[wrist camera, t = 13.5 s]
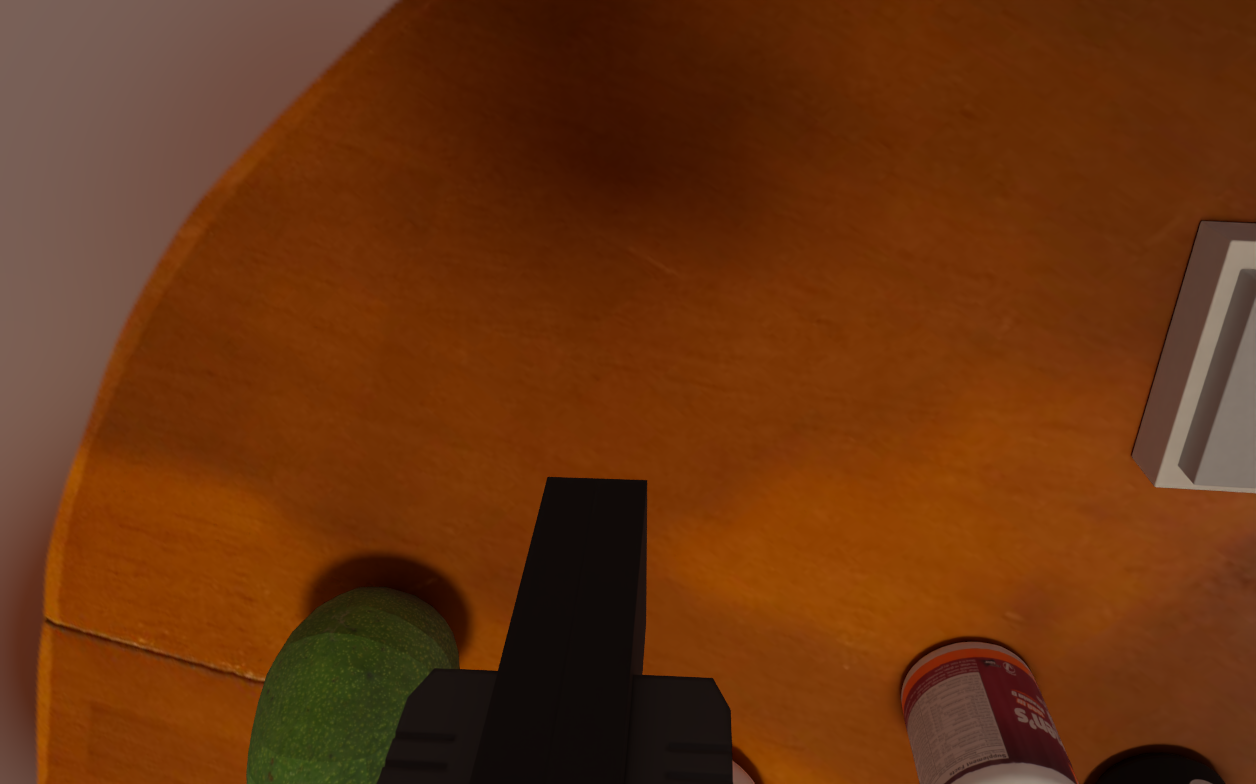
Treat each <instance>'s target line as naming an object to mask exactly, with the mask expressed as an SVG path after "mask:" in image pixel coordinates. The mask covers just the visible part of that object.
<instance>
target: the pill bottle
mask: <svg viewBox="0 0 1256 784" xmlns="http://www.w3.org/2000/svg"><path fill="white" fill-rule="evenodd" d="M901 703H902V709H903V714H904V719H905V724H906V728H907V732H908V736H909V740H910V744H911V748H912V752H913V756H914V761H915V765H916V769H917V773H918V778H919V782H920V784H1079V783H1078V780H1077V778H1076V776H1075V773H1074V771H1073V768H1072V766H1071V763H1070V761H1069V759H1068V756H1067V754H1066V752H1065V749H1064V747H1063V744H1062V742H1061V740H1060V737H1059V735H1058V733H1057V730H1056V728H1055V725H1054V723H1053V720H1052V718H1051V716H1050V714H1049V712H1048V709H1047V706H1046V704H1045V702H1044V699H1043V697H1042V695H1041V692H1040V690H1039V687H1038V685H1037V683H1036V681H1035V679H1034V676H1033V674H1032V673H1031V671H1030V669H1029V668H1028V666H1027V665H1026V664H1025V663H1024V662H1023V661H1022V660H1021V659H1020V658H1019V657H1018V656H1017V655H1015V654H1014V653H1012V652H1010V651H1009V650H1007V649H1005V648H1003V647H1001V646H998V645H994V644H989V643H983V642H961V643H955V644H951V645H948V646H944V647H941V648H939V649H937V650H935V651H932V652H931V653H929V654H927V655H926V656H924V657H923V658H922V659H920V660H919V661H918V662H917V663H916V664H915V665H914V666H913V667H912V668H911V669H910V671H909V672H908V674H907V676H906V678H905V680H904V683H903V687H902V692H901Z"/></svg>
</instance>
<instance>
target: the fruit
mask: <svg viewBox="0 0 1256 784" xmlns="http://www.w3.org/2000/svg"><path fill="white" fill-rule="evenodd" d="M434 668H442V669H460V667H459V655H458V649H457V645H456V641H455V638H454V634H453V632H452V630H451V629H450V627H449V625H448V624H447V622H446V621H445V619H444V618H443V617H442V616H441V615H440V614H439V613H438V612H437V611H436V610H435V609H434V608H433V607H432V606H431V605H429V604H427V603H426V602H424V601H423V600H421V599H420V598H418V597H417V596H415V595H412V594H408V593H405V592H401V591H398V590H395V589H391V588H388V587H358V588H356V589H353V590H351V591H348V592H346V593H343V594H341V595H338V596H337V597H335V598H333V599H331V600H329V601H328V602H326V603H324V604H323V605H321V606H319V607H317V608H316V609H315V610H314V611H313V612H312V613H311V614H310V615H309V616H308V617H307V618H306V619H305V620H304V621H303V622H302V623H301V624H300V625H299V626H298V627H297V628H296V629H295V630H294V631H293V632H292V633H291V635H290V637H289V638H288V640H287V641H286V643H285V644H284V646H283V648H282V649H281V651H280V652H279V654H278V655H277V657H276V659H275V661H274V662H273V664H272V666H271V668H270V670H269V672H268V673H267V676H266V679H265V682H264V686H263V689H262V692H261V695H260V699H259V702H258V706H257V710H256V715H255V719H254V724H253V728H252V734H251V740H250V746H249V752H248V762H247V774H246V776H247V784H377V782H378V779H379V776H380V773H381V770H382V768H383V767H385V759H386V756H387V754H388V751H389V748H390V745H391V742H392V740H393V738H395V731H396V728H397V726H398V723H399V720H400V717H401V715H402V712H403V709H404V706H405V703H406V701H407V698H408V696H409V695H410V694H411V693H412V692H413V691H414V690H415V689H416V688H417V687H418V685H419V684H420V683H421V682H422V681H423V680H424V679H425V678H426V677H427V676H428V675H429V674H430V672H431V671H432V670H433V669H434Z"/></svg>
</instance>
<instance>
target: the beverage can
mask: <svg viewBox="0 0 1256 784" xmlns="http://www.w3.org/2000/svg"><path fill="white" fill-rule="evenodd" d="M1096 784H1225V782H1224V781H1223V780H1222V778H1221V777H1220V776H1219V775H1218V774H1217V773H1216V772H1215V771H1213V770H1212V769H1211V768H1209V767H1208V766H1206V765H1204V764H1202V763H1199V762H1197V761H1194V760H1191V759H1187V758H1185V757H1182V756H1178V755H1174V754H1167V753H1151V754H1144V755H1139V756H1135V757H1132V758H1129V759H1126V760H1124V761H1122V762H1120V763H1118V764H1116V765H1115V766H1113V767H1111V768H1110V769H1109V770H1108V771H1107V772H1105V773H1104V774H1103V775H1102V776H1101V777H1100V778H1099V780H1098V781H1097V783H1096Z"/></svg>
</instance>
